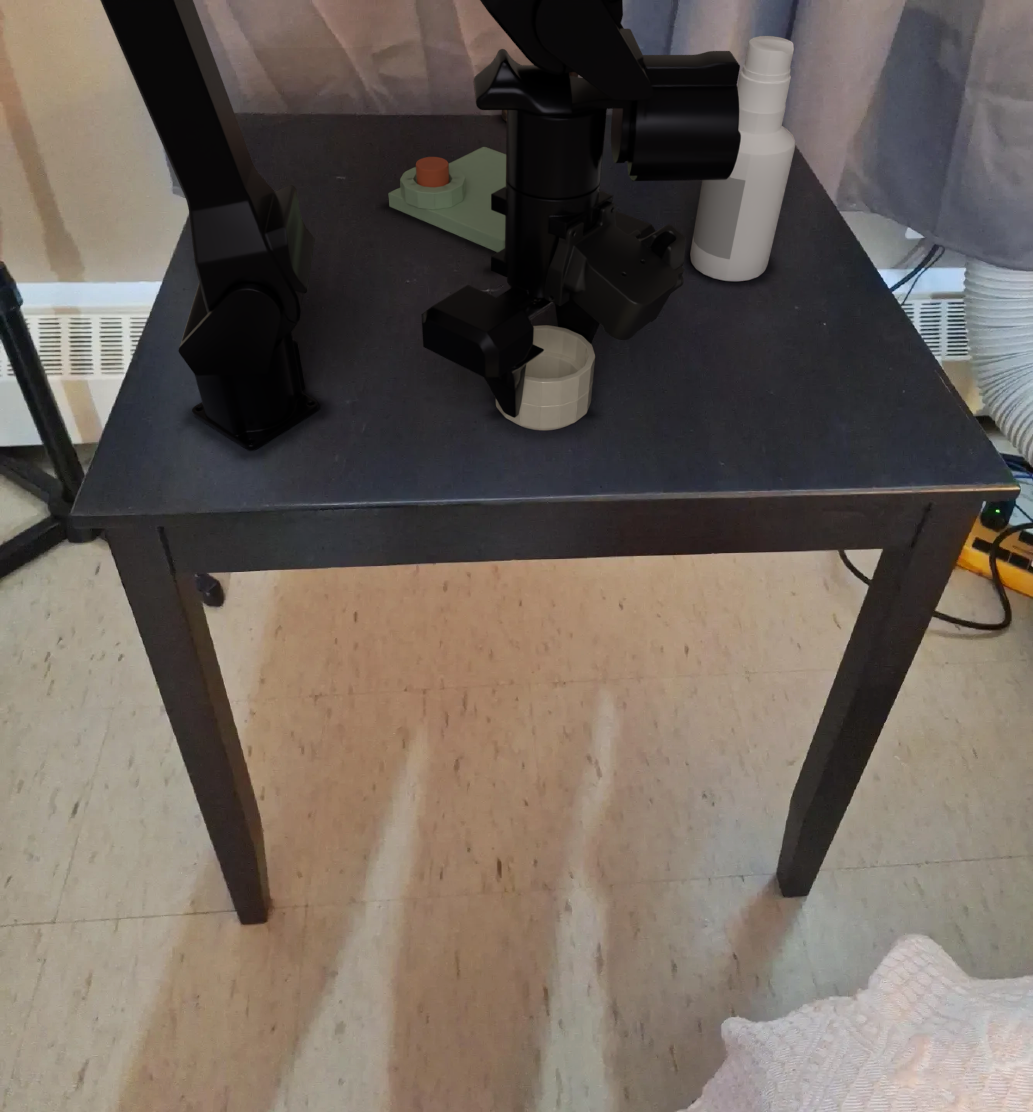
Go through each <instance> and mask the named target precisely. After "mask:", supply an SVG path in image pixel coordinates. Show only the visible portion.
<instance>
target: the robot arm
mask: <svg viewBox="0 0 1033 1112" xmlns="http://www.w3.org/2000/svg"><path fill="white" fill-rule="evenodd" d="M99 1H100V3H101V5H102V8H103V10H104V12H105V14H106V17H107V19H108V22H109V24H110V26H111V28H112V30H113V33H114V36H115V37H116V41H117V43H118V45H119V48H120V49H121V52H122V54H123V57H124V59H125V61H126V64H127V66H128V69H129V70H130V73H131V75H132V78H133V79H134V82H135V84H136V87H137V89H138V92H139V94H140V96H141V98H142V100H143V103H144V105H145V107H146V110H147V112H148V114H149V117H150V119H151V122H152V124H153V126H154V128H155V130H156V134H157V135H158V138H159V140H160V143H161V145H162V147H163V149H164V152H165V154H166V156H167V158H168V159H167V160H168V161H169V163H170V166H171V167H172V171H173V172H174V175H175V177H176V180H177V182H178V183H179V186H180V189H181V191H182V193H183V196H184V198H185V201H186V204H187V208H188V214H189V223H190V231H191V232H190V233H191V240H192V250H193V258H194V259H193V260H194V266H195V271H196V274H197V278H198V284H197V288H196V292H195V295H194V296H193V297H194V298H193V301H192V304H191V308H190V311H189V315H188V317H187V321H186V324H185V327H184V331H183V334H182V337H181V341H180V344H179V347H178V353H179V355H180V356H181V357H182V360H183V361H184V362H185V363H186V365H187V366H188V367H189V369H190V370H191V371H192V373H193V374H194V377H195V378H194V379H195V381H196V385H197V389H198V393H199V396H200V400H201V402H200V403H197V404H196V405H194V407H192V409H191V412H192V415H193V417H194V418H196V419H197V420H199V421H200V422H202V423H204V425H205V424H206V425H207V426H208V427H210V428H212V429H213V430H214V431H216V432H218V433H220V434H221V435H223V436H224V437H225V438H227V439H229V440H230V441H232V442H234V443H235V444H237V445H239V446H240V447H241V448H243V449H245V450H247V451H255V450H257V449H258V448H260V447H262V446H264V445H265V444H267V443H268V442H269V441H271V440H273V439H274V438H276V437H277V436H279V435H281V434H282V433H284V432H285V431H287V430H289V429H290V428H291V427H293V426H295V425H297V424H298V423H300V422H301V421H303V420H304V419H306V418H307V417H309V416H311V415H312V414H314V413H315V412H317V411H318V410H319V403H318V401H317V400H316V399H314V398H313V397H311V396H309V395H307V394H305V393H304V391H305V390H306V381H305V374H304V368H303V363H302V358H301V352H300V346H299V342H298V340H295V339H294V337H293V331H294V329H295V328H296V326H297V325H298V323H299V322H300V320H301V314H302V306H303V301H304V295H305V294H306V293H308V287H309V281H310V274H311V269H312V268H311V267H312V261H313V255H314V247H315V241H316V238H315V237H314V235H313V234H312V233H311V232H310V230H309V229H308V228H307V226H306V224H305V222H304V220H303V218H302V214H301V210H300V209H301V208H300V203H299V197H298V192H297V187H296V186H295V185H293V184H290V185H288V186H286V187H285V186H284V187H283V188H281V189H278V190H274V189H273V188H272V187H271V185H270V184H269V183H268V182H267V181H266V180H265V178H263V176H262V175H261V174H260V173H259V171H258V170H257V168H256V166H255V165H254V163H253V160H252V158H251V154H250V152H249V149H248V147H247V143H246V141H245V139H244V138H245V137H244V135H243V133H242V130H241V127H240V125H239V122H238V119H237V116H236V114H235V111H234V108H233V106H232V102H231V101H230V98H229V94H228V92H227V89H226V87H225V83H224V80H223V78H222V76H221V73H220V70H219V67H218V64H217V62H216V59H215V56H214V54H213V51H212V48H211V46H210V43H209V40H208V37H207V35H206V32H205V29H204V26H203V24H202V21H201V18H200V15H199V13H198V10H197V7H196V5H195V2H194V0H99ZM479 1H480V3H481V4H482V5H483V7H484V8H485V10H486V11H487V12H488V14H489V15H490V16H491V17H492V19H493V20H494V21H495V22H496V23H497V25H498V26H499V27H500V28H501V29H502V30H503V32H504V33H505V34H506V35H507V37H508V38H509V39H510V40H511V41H512V43H513V44H514V45H515V46H516V47H517V49H519V51H520V52H521V53H522V54H523V56H524V57H525V58H526V59H527V60H528V61H529V62H530V63H531V64H520V63H518V62H517V61H515V60H514V58H512V57H511V55H510V54H509V52H508V51H507V50H506V48H500V49H499V50H498V51H497V54H496V55H495V56H494V58H493V60H492V61H491V62H490V63H489V64H488V65H487V66H486V67H484V68H483V69H482V70H481V71H480V72H479V73H477V74H476V75H474V78H473V81H472V83H473V90H474V92H473V93H474V100H475V105H476V107H477V109H478V110H480V111H502V110H507V122H506V127H505V128H506V135H505V137H506V139H505V141H506V143H505V145H506V146H505V154H506V186H505V187H503V188H502V189H500V190H498V191H496V192H494V193H492V194H491V210H493V211H495V212H498V213H500V214H503V215H505V248H504V249H503V250H501V251H499V252H496V253H494V254H492V255H491V256H490V271H491V272H493V273H495V274H498V275H500V276H503V277H504V278H506V283H507V284H508V285H509V289H507V290H506V291H504V292H503V293H501V294H499V295H497V296H494V295H492V294H490V293H487V292H485V291H483V290H481V289H479V288H476V287H474V286H472V285H469V284H466V285H465V286H463V287H461V288H460V289H458V290H456V291H455V292H453V293H451V294H450V295H448V296H446V297H445V298H443V299H442V300H439V301H438V302H437V303H435V304H433V305H431V306H430V307H429V308H428V309H426V310H425V311H424V312H422V313H421V332H422V347H423V348H424V349H427V350H428V351H431V352H433V353H434V354H437V355H439V356H440V357H442V358H444V359H446V360H448V361H450V362H453V363H454V364H456V365H458V366H460V367H462V368H464V369H466V370H468V371H470V372H472V373H474V374H476V375H478V376H481V377H482V378H484V380H485V382H486V383H487V385H488V387H489V389H490V391H491V393H492V394H493V396H494V399H495V398H496V400H497V401H498V403H499V405H500V407H501V408H502V410H503V412H504V413H505V414H507V415H509V416H511V417H513V418H515V417H517V416H518V415H519V411H520V407H521V402H522V396H523V388H524V380H525V372H526V364H527V363H528V362H530V361H531V360H532V359H534V358H535V357H537V356H538V355H540V354H541V353H542V352H543V351H544V349H542V348H540V347H538V346H536V345H534V344H533V338H534V327H533V326H534V325H533V324H532V321H531V320H533V319H534V318H537V316H539V315H540V314H542V313H544V312H546V311H547V310H548V309H550V308H551V307H552V306H555V315H556V322H557V327H560V328H566V329H568V330H571V331H573V332H575V333H577V334H580V335H581V336H583V337H584V338H585V339H586V340H587V341H588V342H589V343H590V344H591V345H592V343H593V341H594V338H595V336H596V334H597V331H598V329H599V327H600V326H602V327H603V331H604V332H606V334H607V335H609V336H610V337H611V338H613V339H615V340H618V341H627V340H630V339H631V338H633V337H634V336H635V335H636V334H637V333H638V332H639V331H640V330H642V329H643V328H644V327H645V326H647V325H648V324H650V323H652V322H654V321H655V320H656V319H657V318H658V317H659V315H660V313H661V312H662V309H663V308H664V306H665V305H666V303H667V301H668V300H669V298H670V297H671V295H672V294H673V293H674V292H675V291H677V290H678V289H679V288H681V287H682V286H683V285H684V283H685V279H684V276H683V274H684V272H685V268H684V265H685V256H686V255H685V253H686V236H685V235H684V234H683V233H682V232H680V231H679V229H677V228H675V227H674V226H673V225H672V224H669V223H668V224H665V225H664V226H662V227H661V228H659V229H657V230H656V229H655V227H654V226H653V224H651V223H649V222H647V221H644V220H641V219H639V218H636V217H633V216H631V215H628V214H625V213H622V212H619V211H617V204H616V203H615V202H614V194H611V193H608V192H606V191H603V190H601V180H602V172H603V171H602V169H603V159H604V147H605V136H606V135H605V134H606V123H607V112H608V110H611V121H610V149H611V157H612V162H613V164H625V163H626V166H627V175H628V177H629V178H630V180H631V181H632V182H673V181H675V182H678V181H679V182H680V181H681V182H683V181H688V182H689V181H702V180H727V179H728V178H729V177H730V175H731V173H732V171H733V169H734V166H735V164H736V161H737V157H738V152H739V148H740V142H741V134H740V132H739V130H738V129H739V96H738V88H737V86H738V81H739V75H740V71H741V70H740V69H741V65H740V64H739V62H738V60H737V59H736V57H735V55H733V53H732V52H731V50H710V51H709V50H708V51H705V52H701V53H698V54H643V53H642V50H641V48H640V46H639V43H638V41H637V40H636V38H635V36H634V33H633V31H632V29H631V28H625V27H624V26H623V24H622V21H623V18H624V5H623V4H624V3H623V1H624V0H479ZM571 72H575V73H577V74H578V77H573V76H570V74H569V73H571Z"/></svg>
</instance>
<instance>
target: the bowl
mask: <svg viewBox="0 0 1033 1112" xmlns="http://www.w3.org/2000/svg"><path fill="white" fill-rule="evenodd" d="M532 326H533V327H534V338H533V344H534V345H536V346H538V347H540V348H542V349H544V351H543V352H542V353H541V354H540V355H538V356H537V357H535V358H534V359H532V360H531V361H530V362H528V363H527V364H526V372H525V380H524V388H523V396H522V402H521V407H520V411H519V415H518V416H517V417H515V418H513V417H511V416H509V415H507V414H505V413H504V412H503V410H502V408H501V407H500V405H499V403H498V401H497V400H496V398H495V397H494V402H495V406H496V409H497V410H498V411H499V412H500V413H501V414H502V416H503V417H504V418H505V419H507V420H509V421H511V422H512V423H514V424H516V425H517V426H520V427H522V428H525V429H529V430H534V431H553V430H559V429H564V428H565V427H568V426H570V425H573V424H575V423H577V422H578V421H579V420H580V419H581V418H583V417H584V416H585V415H587V413H588V411H589V409H590V406H591V403H592V394H593V393H592V392H593V383H594V373H595V363H596V354H595V350H594V347H593V345H592V343H591V344H590V343H589V342H588V341H587V340H586V339H585V338H584V337H583V336H581V335H580V334H577V333H575V332H573V331H571V330H568V329H566V328H560V327H558V326H554V325H547V324H545V325H532Z"/></svg>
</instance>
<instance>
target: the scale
mask: <svg viewBox="0 0 1033 1112" xmlns="http://www.w3.org/2000/svg"><path fill="white" fill-rule="evenodd" d="M448 164H449V183H448V184H446V185H444V186H441V187H424V186H421V185H419V184H417V177H416V166H414V167H412V168H410V169H408V170H406V171H404V172H403V173H402V175H401V177H400V179H399V186H400V187H398V188H396V189H394V190H392V191H389V192H388V206H389V208H392V209H394V210H396V211H399V212H402V213H403V214H406V215H409V216H411V217H413V218H416V219H418V220H420V221H422V222H425V223H428V224H429V225H433V226H434V227H437V228H439V229H441V230H444V231H446V232H448V233H451V234H454V235H456V236H458V237H461V238H462V239H465V240H468V241H470V242H472V243H474V244H477V245H480V246H482V247H485V248H486V249H489V250H491V251H494V252H496V253H497V252H499V251H501V250H503V249H504V248H505V215H503V214H500V213H498V212H495V211H493V210H491V194H492V193H494V192H496V191H498V190H500V189H502V188H503V187H505V186H506V153H503V152H500V151H498V150H495V149H492V148H489V147H486V146H482V147H480V148H478V149H476V150H474V151H471V152H470V153H468V154H465V155H463V156H461V157H460V158H457V159H455V160H453V161H451V162H448Z"/></svg>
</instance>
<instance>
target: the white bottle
mask: <svg viewBox="0 0 1033 1112" xmlns="http://www.w3.org/2000/svg"><path fill="white" fill-rule="evenodd" d="M794 47H795V45H794V42H793V41H791V40H789V39H787V38H784V37H780V36H773V35H760V36H759V35H758V36H754V37H752V38H750V39H749V41H748V43H747V47H746V48H747V49H746V54H745V60H744V63H743V66H742V69H741V70H739V76H738V81H737V88H738V96H739V129H738V130H739V132H740V134H741V142H740V148H739V152H738V157H737V161H736V164H735V166H734V169H733V171H732V173H731V175H730V177H729V178H728V179H727V180H701V187H700V192H699V198H698V204H697V211H696V217H695V221H694V222H695V223H694V230H693V234H692V241H691V247H690V254H689V256H690V263H691V264H692V266H693V267H694V268H695V270H696V271H698V272H700V273H701V274H702V275H705V276H707V277H709V278H712V279H715V280H720V281H725V282H744V281H750V280H754V279H756V278H758V277H760V276H761V275H762V274H763V273H764V272H765V271H766V270H767V267H768V265H769V260H770V255H771V252H772V248H773V243H774V240H775V236H776V235H775V234H776V230H777V226H778V222H779V218H780V213H781V210H782V205H783V201H784V197H785V193H786V188H787V183H788V179H789V175H790V170H791V166H792V162H793V157H794V154H795V149H796V140H795V137H794V135H793V133H792V132H790V131H789V130H788V129H787V128H786V127H785V126H784V125H783V122H784V119H785V118H784V117H785V112H786V109H787V105H786V103H787V100H788V99H787V97H788V94H789V89H790V85H791V79H792V76H791V71H792V69H791V65H792V60H793V56H794V51H795V49H794Z"/></svg>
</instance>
